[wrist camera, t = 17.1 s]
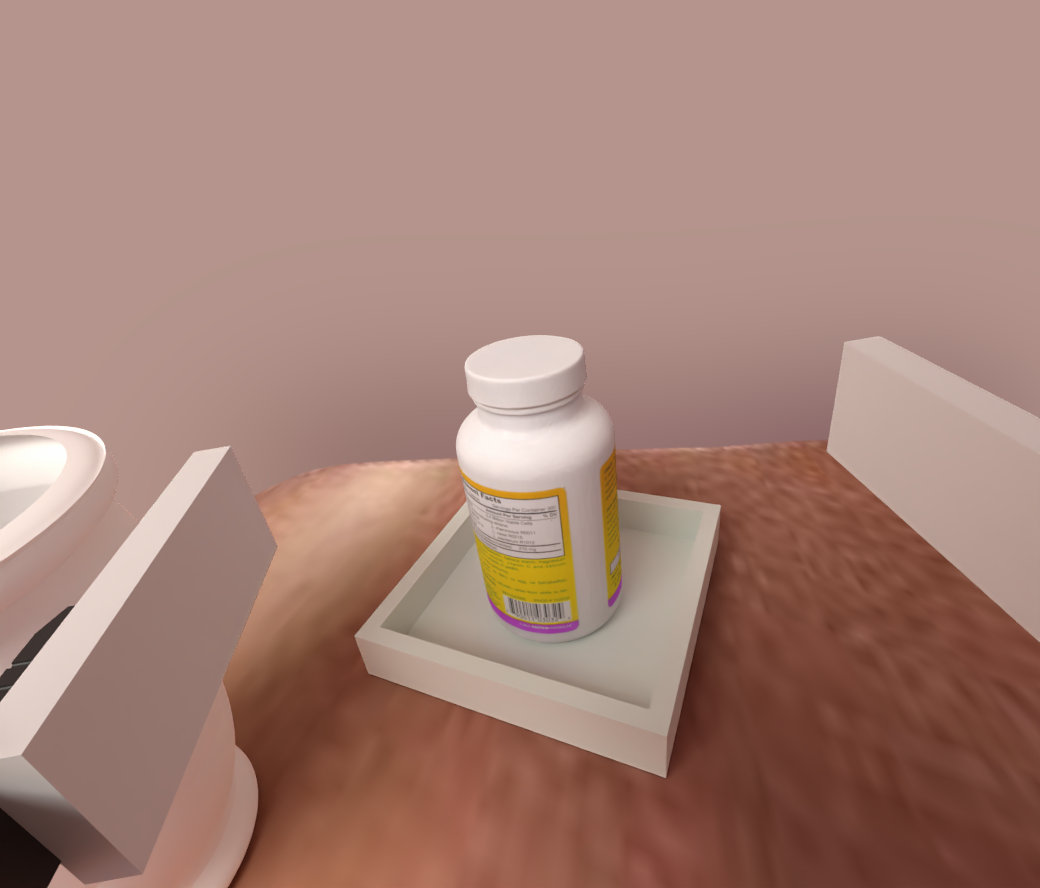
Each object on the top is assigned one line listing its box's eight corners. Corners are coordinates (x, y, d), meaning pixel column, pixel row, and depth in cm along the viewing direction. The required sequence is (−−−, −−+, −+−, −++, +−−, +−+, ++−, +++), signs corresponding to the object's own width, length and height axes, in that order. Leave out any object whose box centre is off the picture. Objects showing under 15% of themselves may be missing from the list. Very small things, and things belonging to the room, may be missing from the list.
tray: (718, 541, 31) (721, 505, 30) (665, 778, 21) (666, 736, 19) (497, 502, 37) (491, 470, 35) (368, 673, 26) (354, 636, 25)
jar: (258, 1007, 16) (-72, 663, 9) (-135, 1124, 15) (-889, 841, 8) (306, 694, 26) (163, 395, 18) (63, 753, 24) (-197, 459, 17)
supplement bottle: (574, 535, 32) (554, 315, 26) (651, 608, 27) (649, 353, 20) (467, 585, 30) (415, 354, 23) (528, 675, 24) (483, 410, 18)
